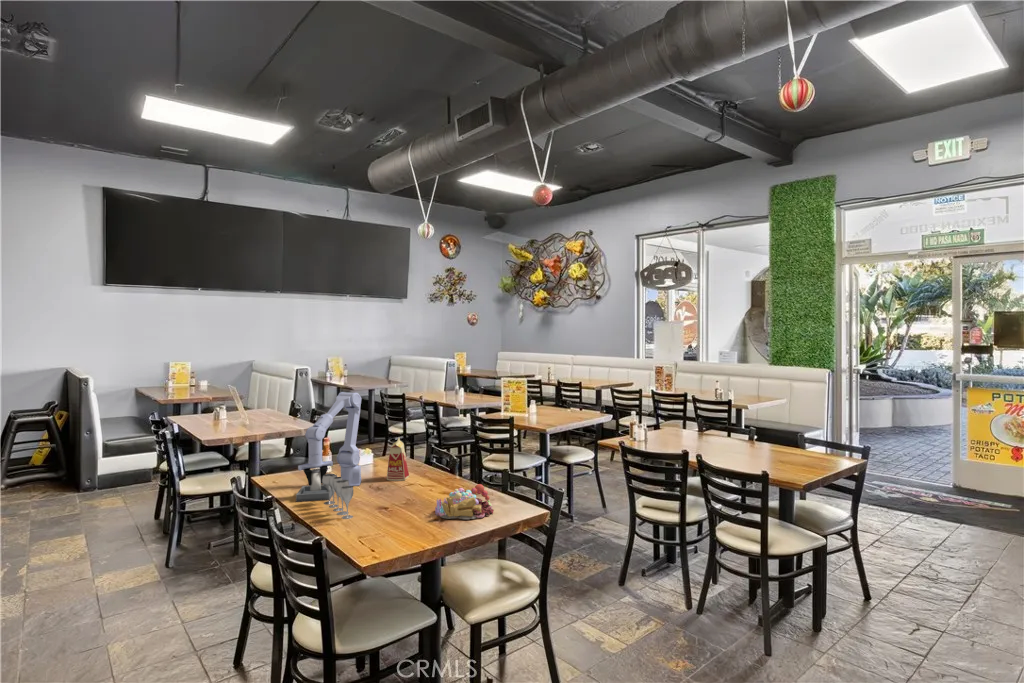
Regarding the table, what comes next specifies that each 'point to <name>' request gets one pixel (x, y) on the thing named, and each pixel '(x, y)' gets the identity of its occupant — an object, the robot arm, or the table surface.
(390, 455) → the milk carton
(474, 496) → the candy landscape model
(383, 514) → the table surface
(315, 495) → the tray
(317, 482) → the cylinder
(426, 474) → the table surface
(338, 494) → the goblet set
